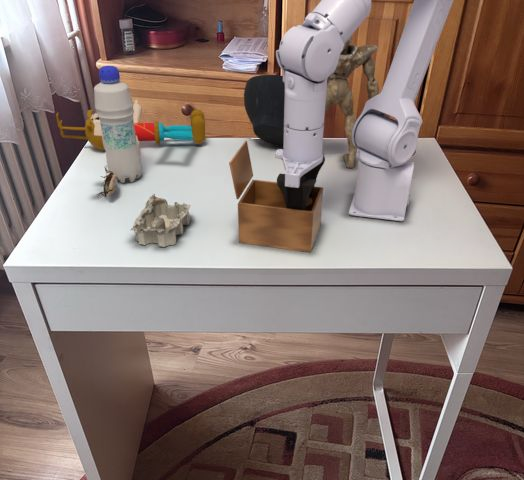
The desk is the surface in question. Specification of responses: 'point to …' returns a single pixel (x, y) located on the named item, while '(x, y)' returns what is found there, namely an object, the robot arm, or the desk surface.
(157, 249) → the desk surface
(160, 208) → the egg carton
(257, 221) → the brown box
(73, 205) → the desk surface
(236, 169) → the flap
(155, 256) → the desk surface
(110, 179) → the insect
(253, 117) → the bowl
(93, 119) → the toy
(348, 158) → the figurine
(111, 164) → the bottle
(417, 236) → the desk surface
